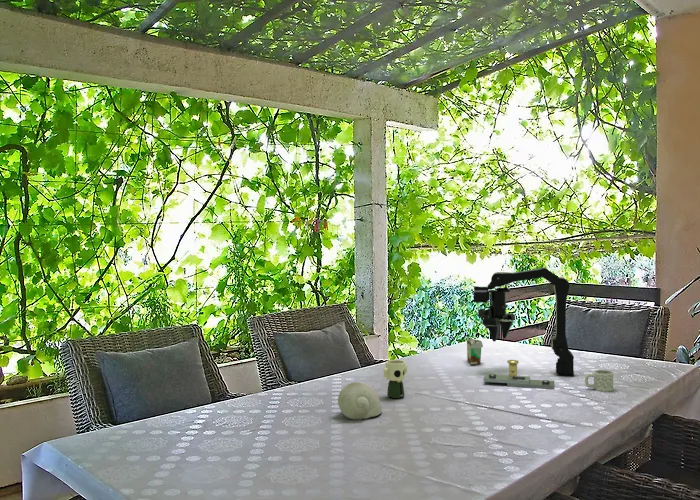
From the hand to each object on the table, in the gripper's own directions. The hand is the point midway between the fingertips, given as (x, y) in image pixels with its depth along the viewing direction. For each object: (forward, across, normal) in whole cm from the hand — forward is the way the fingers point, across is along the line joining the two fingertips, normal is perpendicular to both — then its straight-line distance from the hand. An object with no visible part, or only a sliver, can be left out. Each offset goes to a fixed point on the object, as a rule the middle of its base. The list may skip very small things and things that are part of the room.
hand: (499, 339), depth 276 cm
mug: (+14, +4, +42) cm, 45 cm away
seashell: (+13, +83, -9) cm, 84 cm away
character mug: (+13, +58, -12) cm, 61 cm away
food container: (+14, -9, -16) cm, 23 cm away
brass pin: (+14, +7, +9) cm, 18 cm away
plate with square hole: (+14, +15, +15) cm, 25 cm away
